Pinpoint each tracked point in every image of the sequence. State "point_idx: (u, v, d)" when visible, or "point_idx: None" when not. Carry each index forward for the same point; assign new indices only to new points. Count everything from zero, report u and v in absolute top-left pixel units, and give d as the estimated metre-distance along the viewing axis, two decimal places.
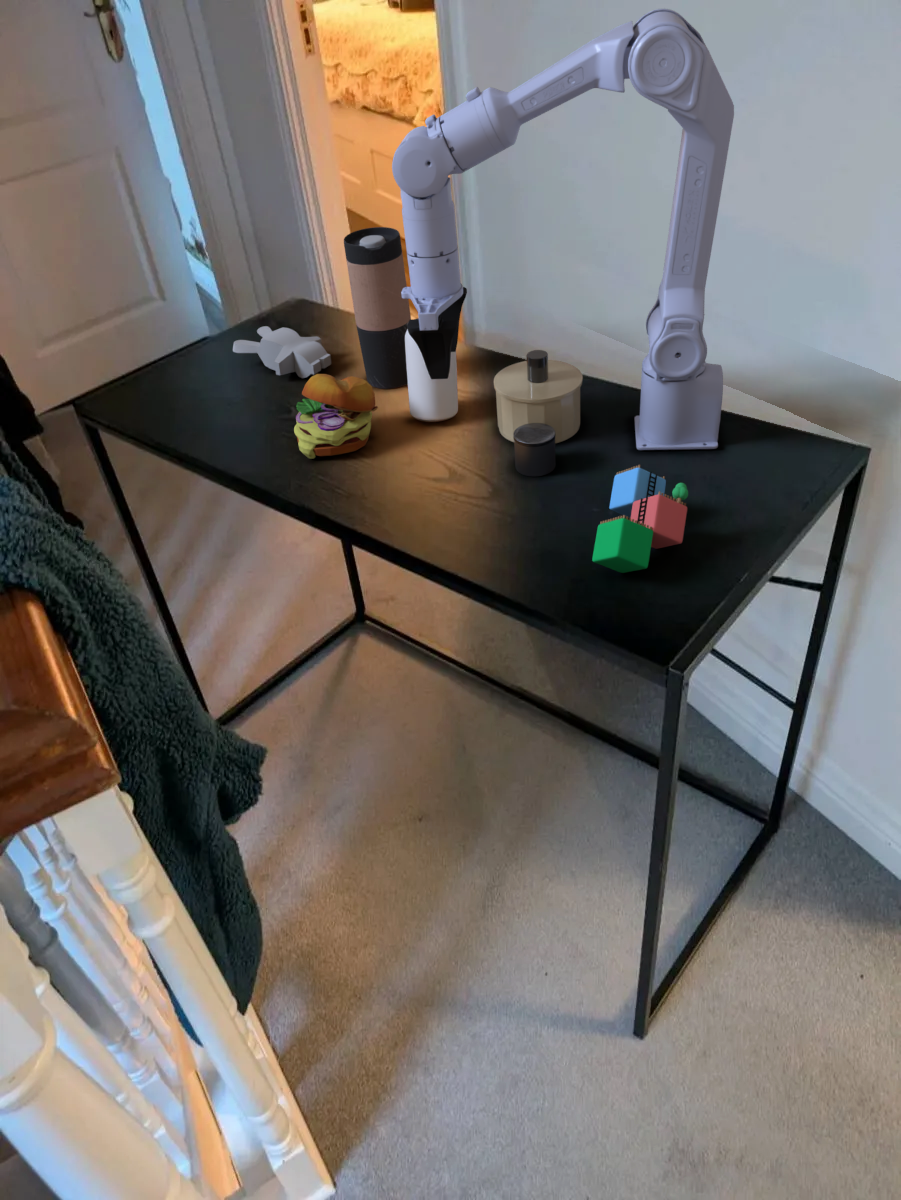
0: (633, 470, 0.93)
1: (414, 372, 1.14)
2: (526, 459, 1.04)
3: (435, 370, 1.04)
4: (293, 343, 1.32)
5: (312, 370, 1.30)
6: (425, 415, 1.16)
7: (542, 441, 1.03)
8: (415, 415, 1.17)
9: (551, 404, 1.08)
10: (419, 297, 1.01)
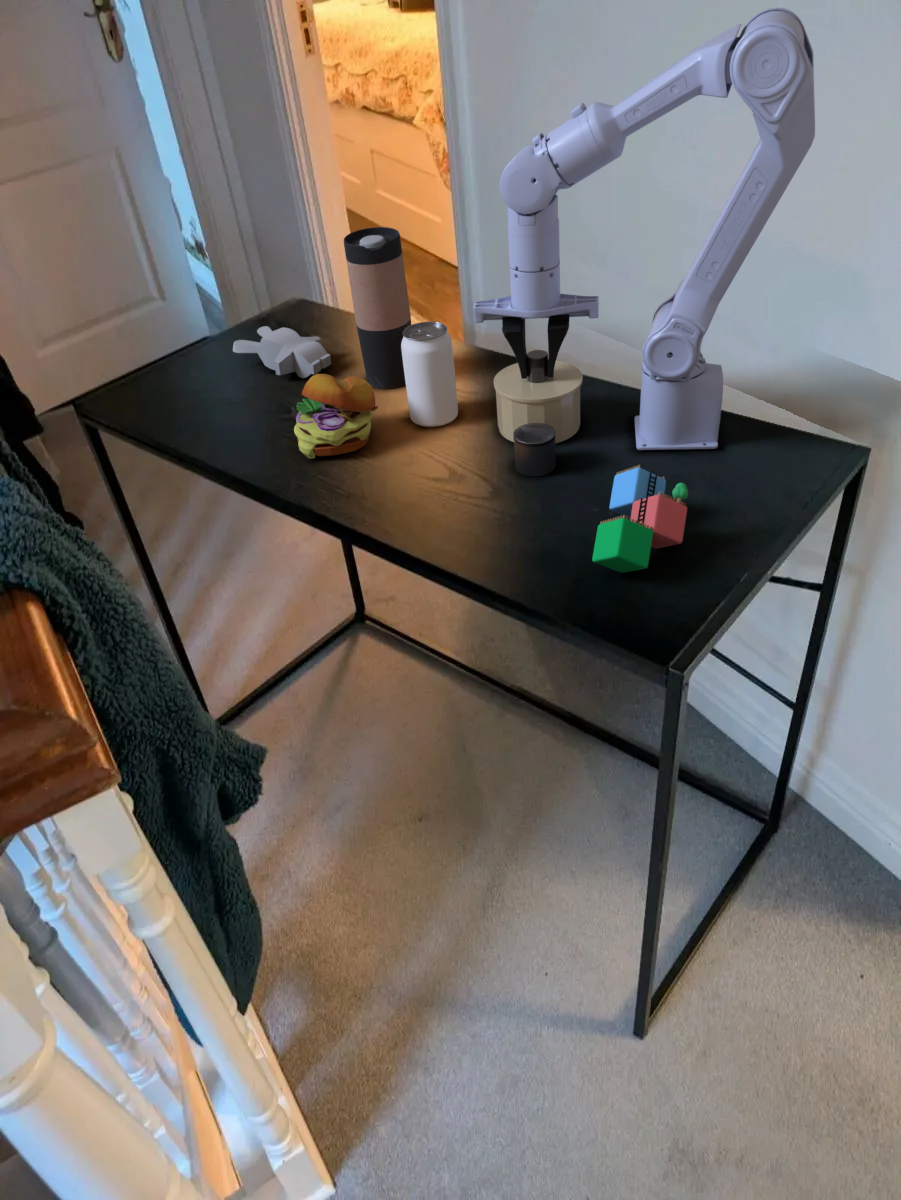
0: (633, 470, 0.93)
1: (412, 381, 1.13)
2: (526, 459, 1.04)
3: None
4: (293, 343, 1.32)
5: (312, 370, 1.30)
6: (425, 422, 1.16)
7: (542, 441, 1.03)
8: (415, 421, 1.17)
9: (551, 404, 1.08)
10: None
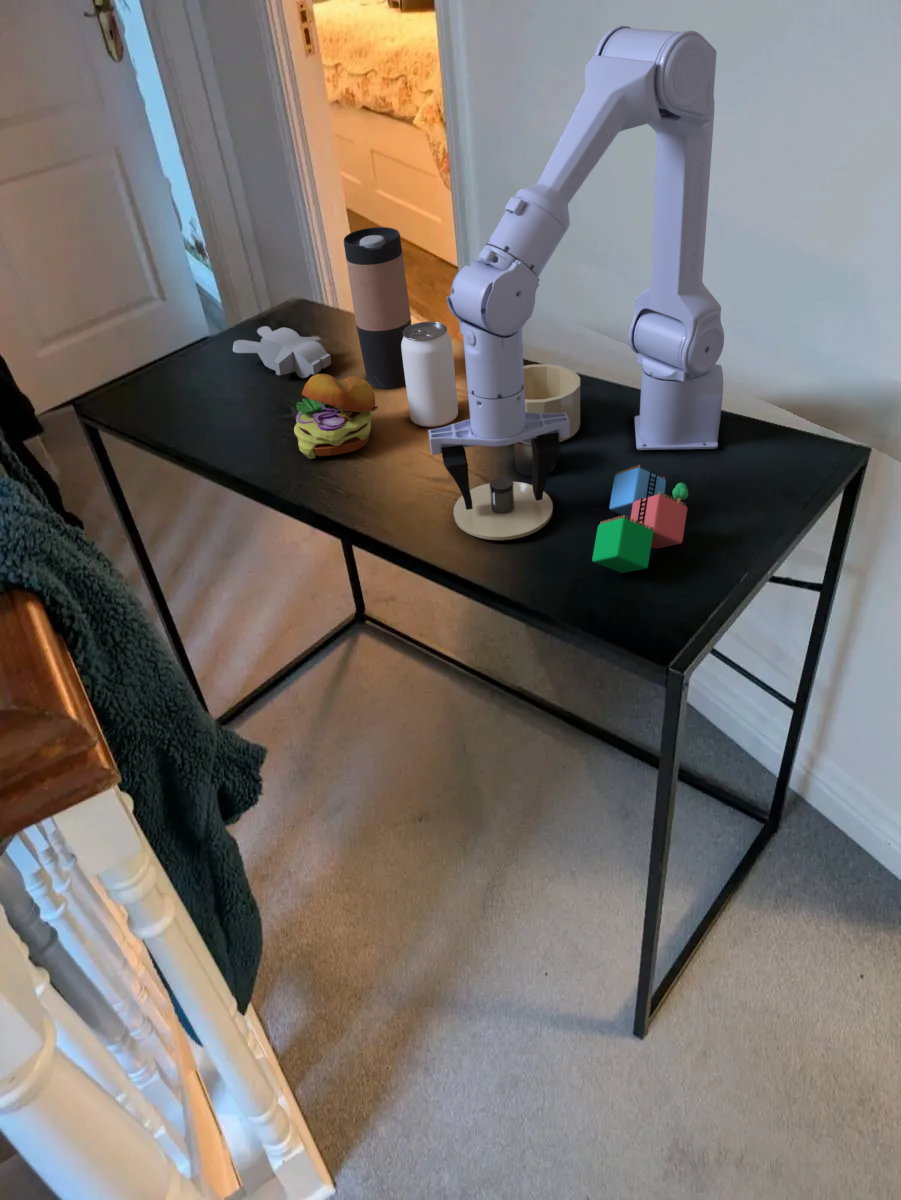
0: (633, 470, 0.93)
1: (412, 381, 1.13)
2: (526, 459, 1.04)
3: None
4: (293, 343, 1.32)
5: (312, 370, 1.30)
6: (425, 422, 1.16)
7: None
8: (415, 421, 1.17)
9: (551, 404, 1.08)
10: None
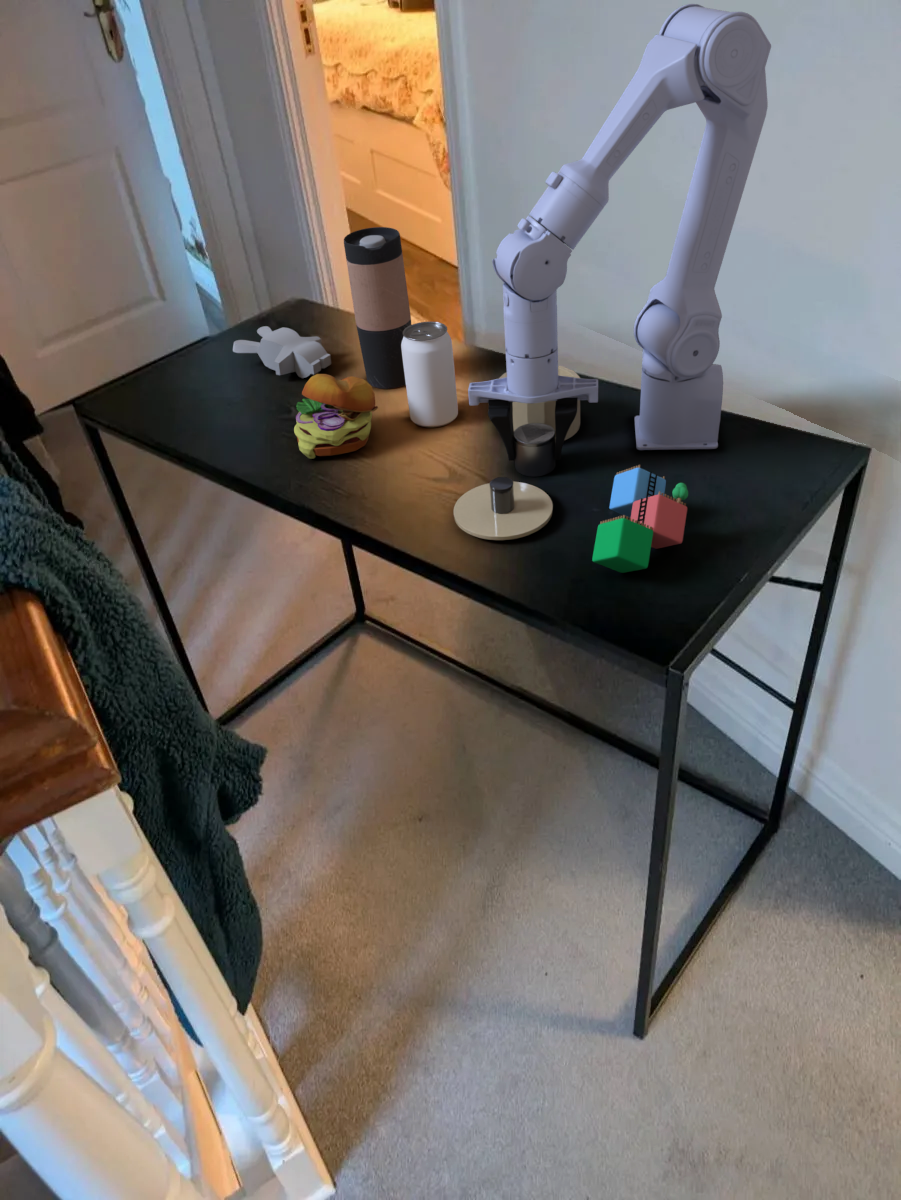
0: (633, 470, 0.93)
1: (412, 381, 1.13)
2: (526, 459, 1.04)
3: None
4: (293, 343, 1.32)
5: (312, 370, 1.30)
6: (425, 422, 1.16)
7: (542, 441, 1.03)
8: (415, 421, 1.17)
9: (551, 404, 1.08)
10: None
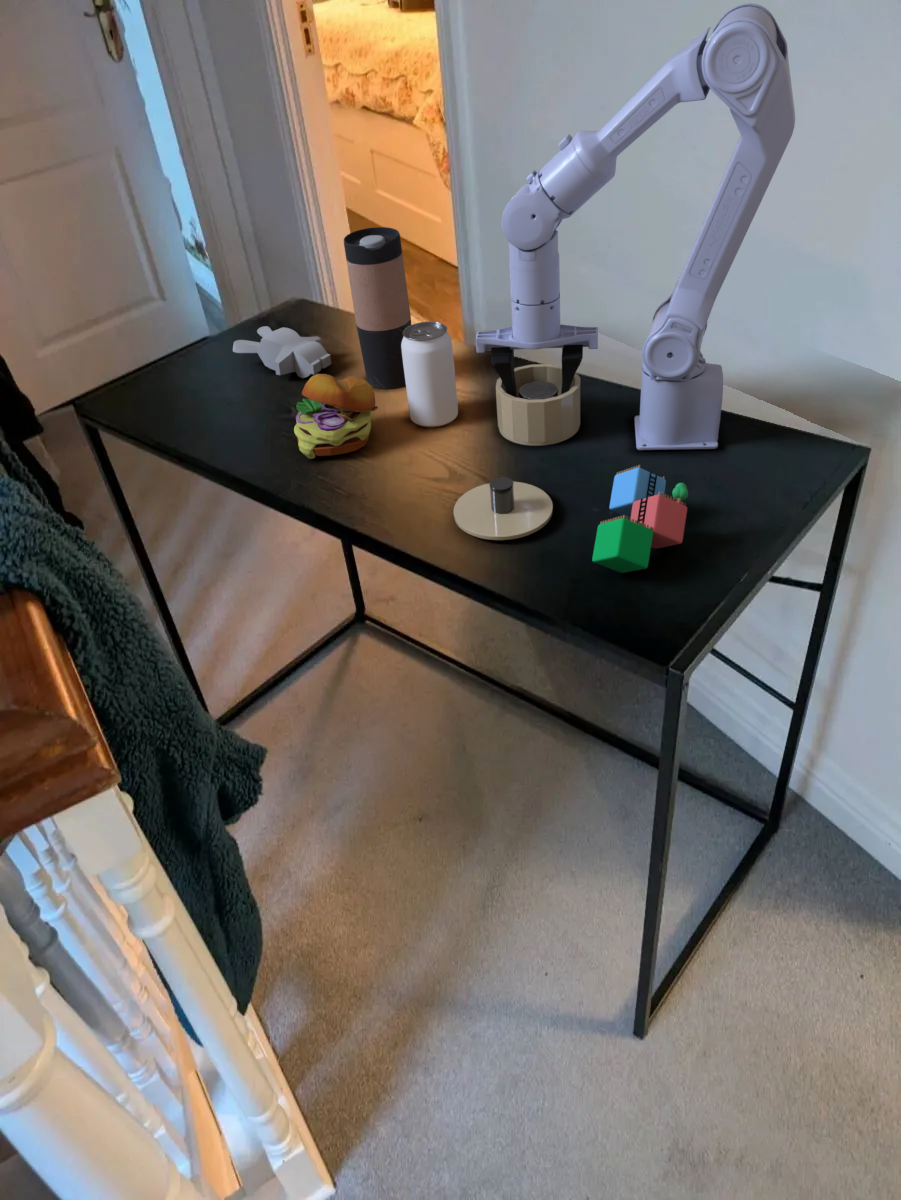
0: (633, 470, 0.93)
1: (412, 381, 1.13)
2: None
3: None
4: (293, 343, 1.32)
5: (312, 370, 1.30)
6: (425, 422, 1.16)
7: (546, 397, 1.10)
8: (415, 421, 1.17)
9: (551, 404, 1.08)
10: None
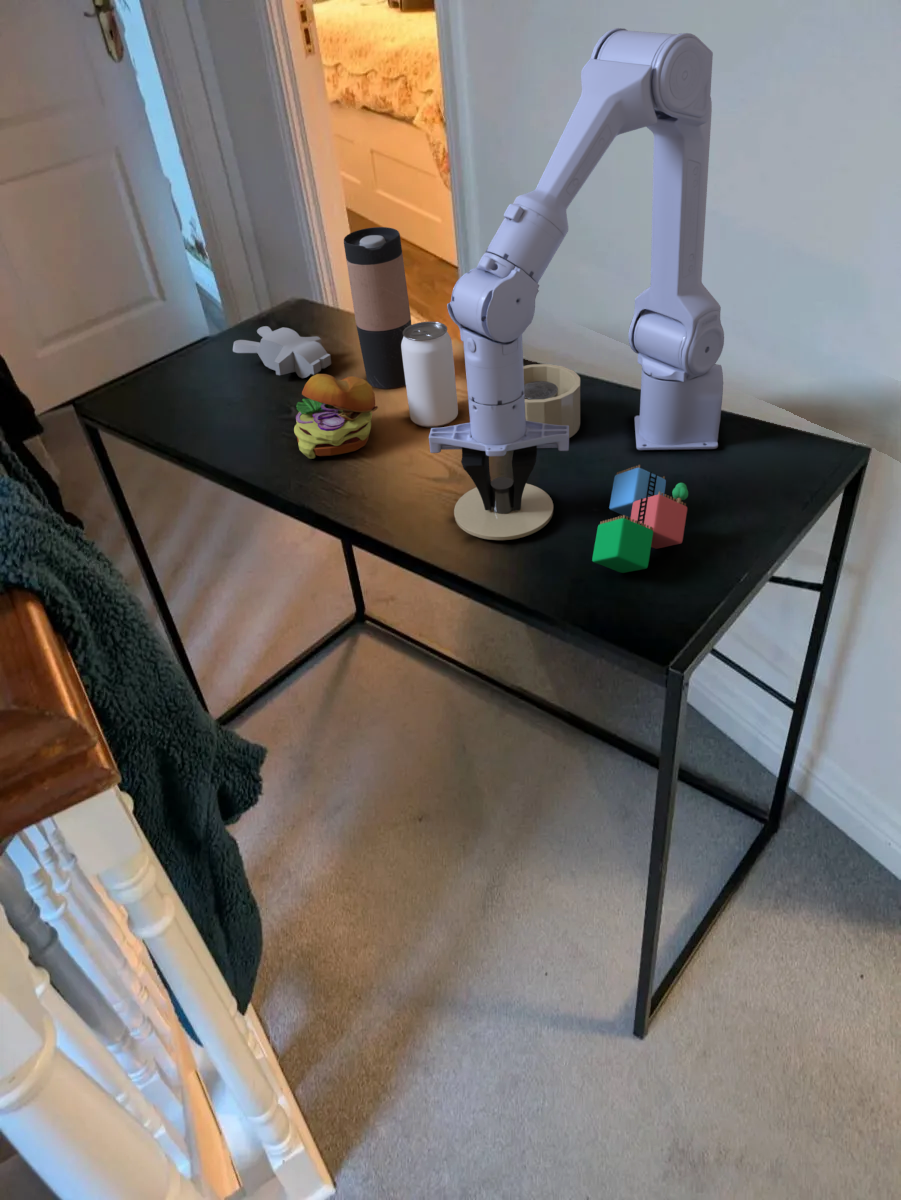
0: (633, 470, 0.93)
1: (412, 381, 1.13)
2: None
3: None
4: (293, 343, 1.32)
5: (312, 370, 1.30)
6: (425, 422, 1.16)
7: (546, 397, 1.10)
8: (415, 421, 1.17)
9: (551, 404, 1.08)
10: (522, 437, 0.92)
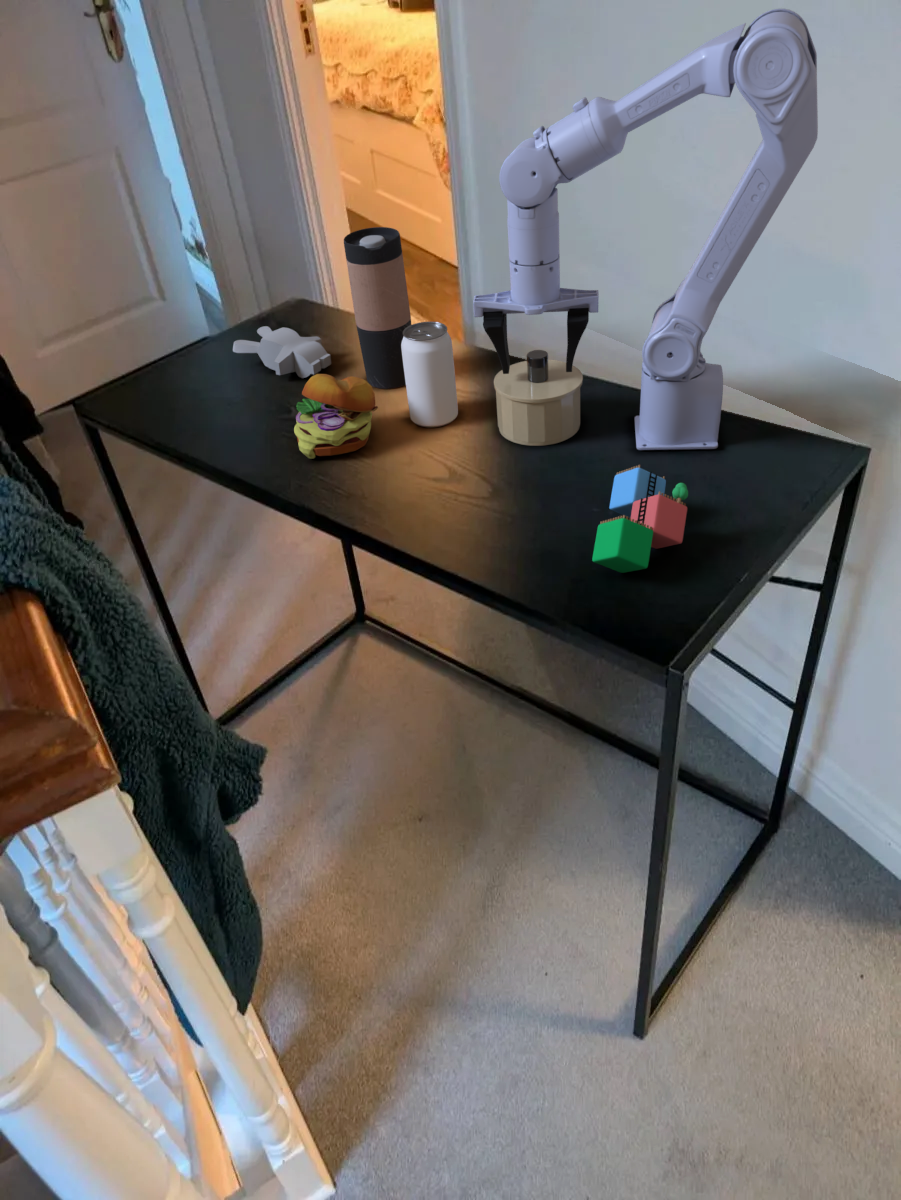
0: (633, 470, 0.93)
1: (412, 381, 1.13)
2: None
3: None
4: (293, 343, 1.32)
5: (312, 370, 1.30)
6: (425, 422, 1.16)
7: None
8: (415, 421, 1.17)
9: (551, 404, 1.08)
10: (557, 299, 1.03)
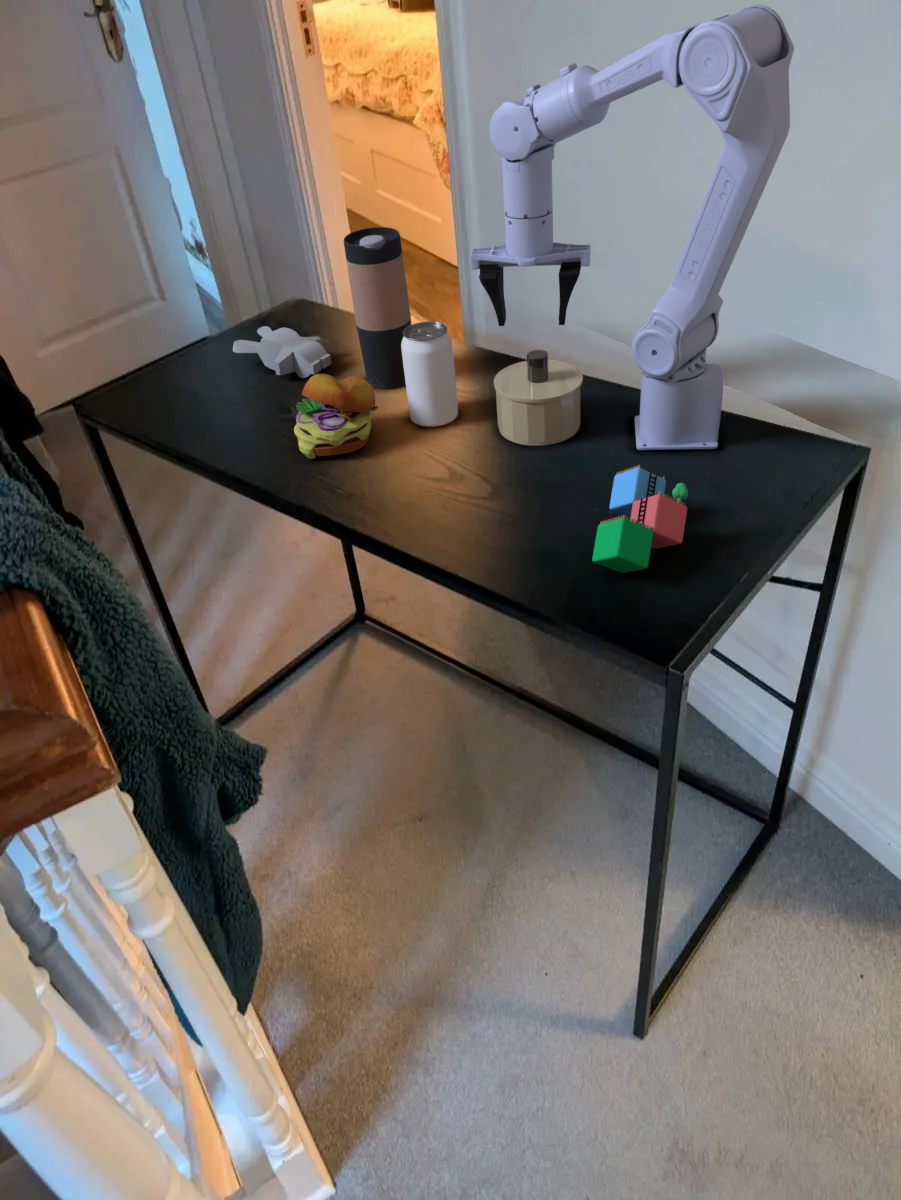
0: (633, 470, 0.93)
1: (412, 381, 1.13)
2: None
3: (565, 314, 1.13)
4: (293, 343, 1.32)
5: (312, 370, 1.30)
6: (425, 422, 1.16)
7: None
8: (415, 421, 1.17)
9: (551, 404, 1.08)
10: (549, 253, 1.07)
